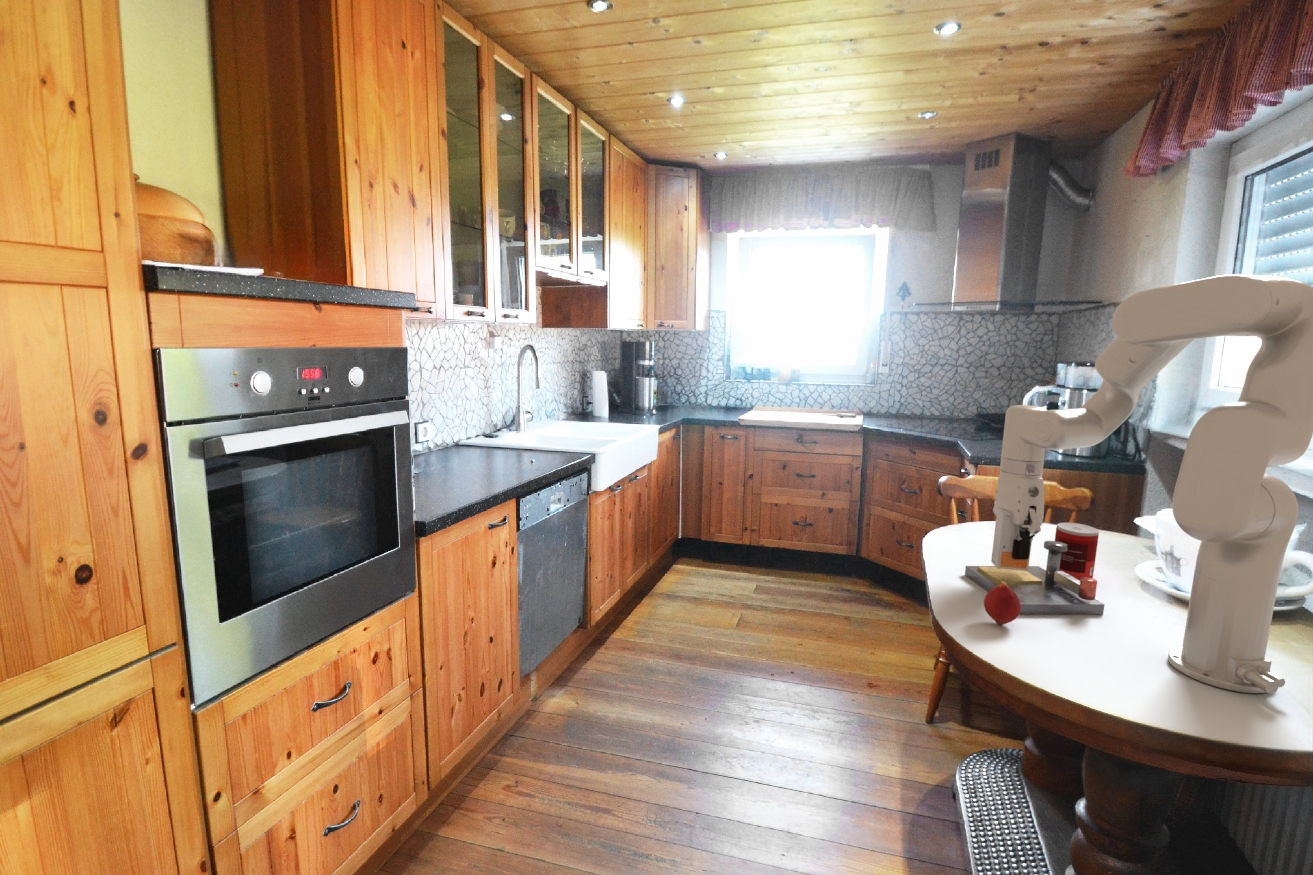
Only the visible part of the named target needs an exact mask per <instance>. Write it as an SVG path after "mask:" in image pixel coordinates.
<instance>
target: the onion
mask: <svg viewBox="0 0 1313 875" xmlns="http://www.w3.org/2000/svg"><path fill="white" fill-rule="evenodd" d="M983 607H984V610H985V612H986V613H987V615H988V616H989V617H990V618H991V619H992V620H993V621H994V623H995V624H997V625H999V626H1002V625H1006V624H1009V623H1012V622H1013V621H1015V620H1016V619H1017V618H1018V617H1019V616H1020V615H1019V614H1020V612H1021V603H1020V600H1019V598H1018V596H1017V595H1016V593H1015V592H1014V591H1013V590H1012V589H1011V588H1009V586H1008V585H1007V584H1006V583H1005V582H1003V581H1002V582H1000V586H997V587H995V588H993V589H991V590H990V591H989V592H988V591H987V593H986V595H985V597H984V599H983Z"/></svg>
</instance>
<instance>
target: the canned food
mask: <svg viewBox="0 0 1313 875" xmlns="http://www.w3.org/2000/svg"><path fill="white" fill-rule="evenodd" d="M1099 532H1100V531H1099V530H1098V529H1097V528H1095V527H1093V526H1090V525H1088V524H1082V523H1078V522H1059V523H1057V524H1056V529H1055V534H1054V541H1057V542H1061V543H1064V544H1066V545H1067V551H1066V552H1061V559H1060V567H1059V571H1063V572H1065V573H1067V574H1069V575H1071V576H1072V577H1074V578H1076V579H1078V580H1080V579H1081V577H1088V578H1092V579H1094V571H1095V564H1096V558H1097V551H1098V543H1099V535H1100V534H1099Z"/></svg>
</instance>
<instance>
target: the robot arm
mask: <svg viewBox="0 0 1313 875" xmlns="http://www.w3.org/2000/svg"><path fill="white" fill-rule="evenodd" d="M1111 328H1112V331H1113V333H1114V335H1115V336H1116V337H1115V338H1114V339H1113V340H1112V342H1111V343H1110V344H1109V345H1107V346H1106V348H1105V349H1104V350H1103V351H1102V352H1101V353H1100V354H1099V355H1098V356H1097V357H1096V359H1095V361H1094V368H1095V370H1096V371H1097V373H1098V374H1099V376H1100V377H1101V378H1102V379H1103V380H1102V383H1101V385H1100V386H1099V388H1098V389H1097V390H1096V391H1095V393H1094V394H1093V395H1092V396H1091V397H1090V398H1089V399H1087V401H1086V402H1085V403H1084V404H1083V405H1082V406H1081V407H1079V408H1061V409H1047V408H1045V407H1042V406H1037V405H1029V404H1027V405H1026V404H1017V405H1011V406H1009V407H1008V408H1007V410H1006V412H1005V417H1004V418H1005V419H1004V426H1003V435H1002V436H1003V438H1002V444H1001V455H1000V456H1001V457H1000V466H999V475H998V479H997V483H996V488H995V494H994V503H993V505H994V506H993V508H992V512H993V514H994V517H995V520H996V516H997V508H1001V509H1003V510H1005V511H1007V512H1009V513H1010V520H1011V523H1013V524H1015V528H1016V539H1014V541H1013V550H1012V558H1013V559H1028V558H1029V551H1030V543H1031V541H1032V542H1033V539H1034V537H1035V536H1036V535H1037V534H1039V533H1040V532H1041V530H1042V529H1041V526H1042V525H1043V521H1044V512H1045V484H1044V483H1045V482H1044V478H1043V472H1044V463H1045V453H1046V450H1050V451H1052V450H1053V451H1059V450H1069V449H1079V448H1080V449H1081V448H1089V447H1093V446H1095V445H1098V444H1100V443H1101V442H1103V441H1104V440H1105V439H1106V438H1108V437H1109V436H1110V435H1111V434H1113V433H1114V431H1116V430H1117V429H1118V428H1119V427H1120V426H1121V425H1122V424H1123V423H1124V422H1126V421H1127V419H1128V418H1129V417H1131V414H1132V413H1133V411H1134V409H1135V408H1136V406H1137V404H1138V402H1139V400H1140V397H1141V392H1142V389H1143V388H1145V386H1147V384H1148V383H1149V382H1150V381H1151V380H1152V379H1154V377H1156V375H1157V374H1159V373H1160V372H1161V371H1162V370H1163V369H1164V368H1165V367H1166V366H1167V365H1168V364H1169V363H1170V362H1172V361H1173V360H1174V359H1175V357H1177V356H1178V355H1179V354H1180V353H1181V352H1183V350H1184V349H1185V348H1187V346H1189V345H1190V343H1192V342H1193V341H1194V340H1196V339H1204V338H1214V337H1228V336H1229V337H1235V336H1236V337H1258V338H1260V340H1261V346H1260V348H1259V350H1257V353H1256V354H1255V355H1254V357H1253V359H1252V360H1251V362H1250V364H1249V366H1248V369H1247V370H1246V375H1245V378H1244V384H1243V386H1242V390H1241V393H1240V395H1239V397H1238V399H1237V402H1228V403H1225V404H1220V405H1218V406H1216V407H1213V408H1211V409H1210V410H1208V411H1207V412H1205V413H1204V414H1202V416H1201V417H1200V418H1199V420H1197V421H1196V423H1195V425H1194V426H1193V427H1192V429H1191V431H1190V434H1189V436H1188V440H1187V443H1186V447H1185V450H1184V453H1183V457H1182V460H1181V464H1180V468H1179V471H1178V475H1177V478H1176V483H1175V486H1174V491H1173V494H1172V502H1171V503H1172V504H1171V508H1172V515H1173V517H1174V520H1175V522H1176V524H1177V526H1178V527H1179V528H1180V529H1181V530H1182V531H1183V532H1184V533H1185V534H1187V535H1188V536H1189V537H1191V538H1193V539H1195V540H1197V541H1200V544H1199V547H1198V551H1197V555H1196V560H1195V565H1194V566H1195V567H1194V571H1193V578H1192V584H1191V592H1190V596H1189V603H1188V610H1187V617H1186V622H1185V626H1184V627H1185V628H1184V636H1183V639H1182V640H1183V641H1182V645H1181V646H1176V647H1173V648H1171V649H1170V650H1168V656H1167V661H1168V662H1169V664H1171V666H1172V667H1173V668H1175V669H1176V670H1177V671H1179V672H1181V673H1182V674H1184V675H1186V676H1188V677H1189V678H1192V679H1194V680H1197V681H1199V682H1202V683H1204V684H1208V685H1210V686H1213V687H1216V688H1219V689H1220V688H1221V689H1224V690H1229V691H1234V692H1239V693H1245V694H1264V693H1268V694H1274V693H1276V692H1277V691H1278V689H1279V688H1282V687H1284V686H1285V684H1286V680H1285V679H1284V678H1282V677H1281V676H1279V675H1277V674H1274V673H1272V672H1271V667H1272V662H1273V661H1272V660H1271V659H1269V658H1267V657H1266V654H1267V653H1266V652H1267V648H1268V642H1269V636H1270V631H1271V630H1270V629H1271V625H1272V620H1273V614H1274V607H1275V603H1276V598H1277V593H1278V587H1279V583H1280V578H1281V574H1282V573H1281V572H1282V568H1283V563H1284V559H1285V556H1286V552H1287V548H1288V545H1289V543H1290V542H1291V541H1290V540H1291V537H1292V535H1293V532H1294V530H1295V527H1296V524H1297V521H1298V517H1299V504H1298V499H1297V497H1296V494H1295V492H1294V491H1293V490H1292V488H1290V486H1289V485H1288V484H1286V483H1285V482H1284V481H1283V480H1281V479H1280V478H1278V477H1275V476H1274V475H1272V474H1268V473H1266V470H1267V468H1272V467H1277V466H1278V467H1279V466H1283V465H1287V464H1290V463H1293V462H1295V461H1297V460H1299V459H1300V458H1301V457H1302V456H1303V455H1304V454H1305V452H1306V451H1307V450H1308V448H1309V446H1310V444H1311V441H1312V437H1313V286H1312V285H1310V284H1307V283H1305V282H1302V281H1299V280H1296V279H1291V278H1287V277H1281V276H1270V275H1256V274H1254V275H1253V274H1241V273H1240V274H1239V273H1238V274H1236V273H1234V274H1233V273H1231V274H1223V275H1216V276H1211V277H1206V278H1201V279H1196V280H1191V281H1186V282H1181V283H1176V284H1171V285H1165V286H1160V287H1156V288H1155V287H1154V288H1150V289H1144V290H1140V291H1137V292H1136V293H1132V294H1131V295H1130V296H1128V297H1126V298H1125V299H1124V300H1123V301H1121V303H1119V305H1118V306H1117V307H1116V308H1115V311H1114V312H1113V315H1112V320H1111ZM1024 522H1027V525H1023V524H1024ZM1022 528H1026V530H1025V531H1023V532H1022ZM1030 552H1031V551H1030Z"/></svg>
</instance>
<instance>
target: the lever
mask: <svg viewBox="0 0 1313 875" xmlns="http://www.w3.org/2000/svg"><path fill="white" fill-rule="evenodd" d="M1054 581H1055V582H1057V583H1059V584H1060V585H1062V586H1064V587H1065V588H1067V589H1069V590H1070V591H1072V592H1074V593H1076V594H1077V595H1078V596H1079V597H1080V598H1082V599H1085V600H1095V599H1096V593H1097V586H1098V580H1097V579H1095V578H1088V577H1081V579H1080V580H1078V579H1076V578H1074V577H1072V576H1071V575H1069V574H1067V573H1065V572H1063V571H1055V573H1054Z"/></svg>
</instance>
